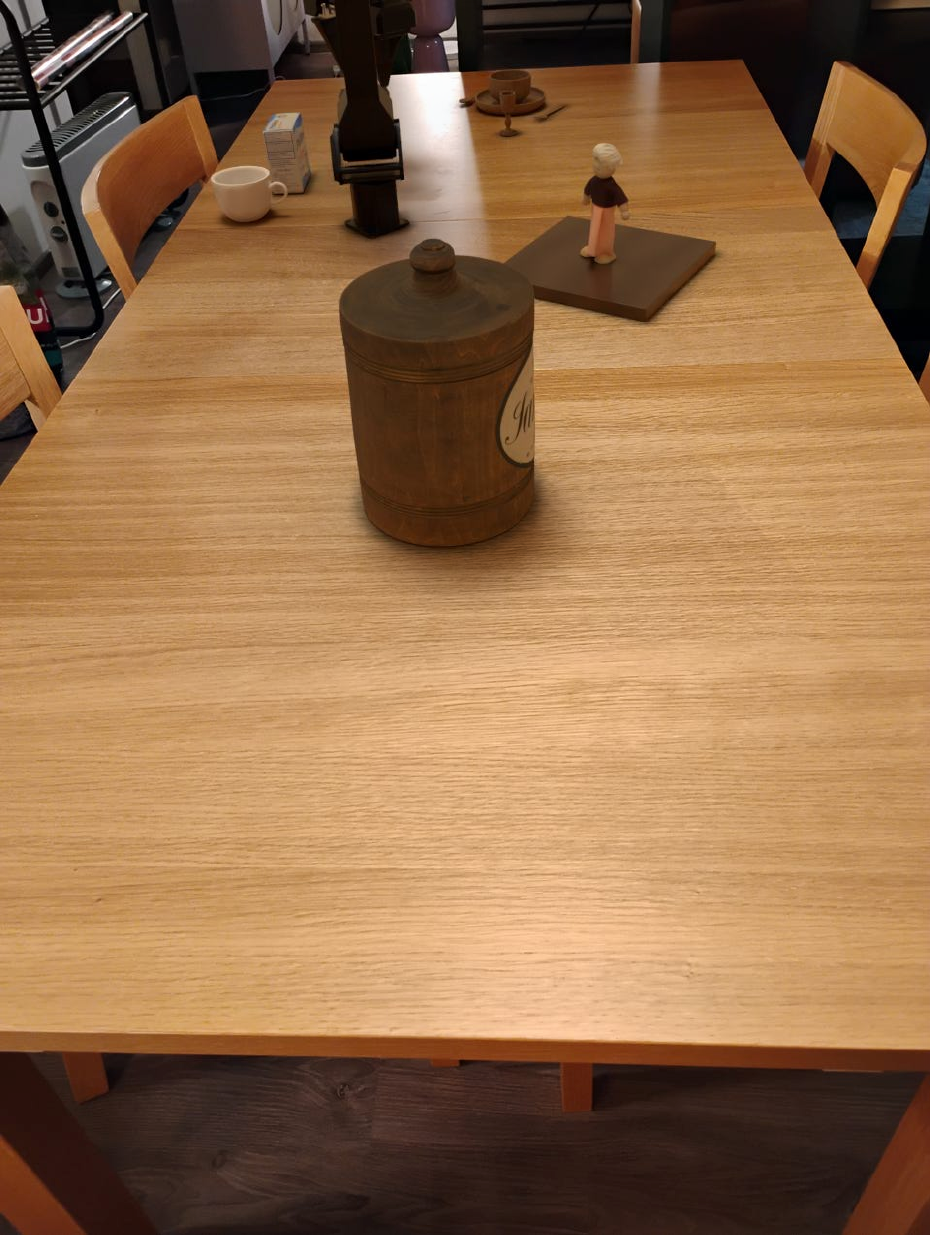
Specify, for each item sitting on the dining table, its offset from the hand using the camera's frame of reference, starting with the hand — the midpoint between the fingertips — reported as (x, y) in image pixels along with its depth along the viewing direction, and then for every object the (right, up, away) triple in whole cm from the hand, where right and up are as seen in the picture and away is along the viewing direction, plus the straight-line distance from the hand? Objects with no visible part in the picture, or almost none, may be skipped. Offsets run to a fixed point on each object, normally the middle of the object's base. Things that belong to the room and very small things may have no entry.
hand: (365, 80), depth 136 cm
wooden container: (+12, -63, -50) cm, 82 cm away
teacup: (-15, -19, 0) cm, 24 cm away
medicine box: (-11, -11, +9) cm, 18 cm away
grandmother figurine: (+30, -31, -19) cm, 47 cm away
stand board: (+30, -32, -18) cm, 48 cm away
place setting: (+19, +10, +29) cm, 36 cm away
